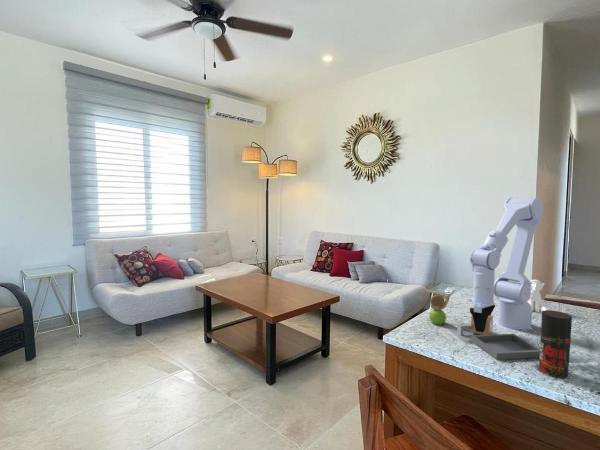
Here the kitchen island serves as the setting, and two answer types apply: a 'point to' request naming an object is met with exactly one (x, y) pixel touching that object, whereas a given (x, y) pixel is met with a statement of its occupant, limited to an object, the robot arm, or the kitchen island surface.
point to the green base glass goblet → (438, 309)
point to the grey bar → (463, 326)
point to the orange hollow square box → (488, 326)
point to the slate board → (466, 334)
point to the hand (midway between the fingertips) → (481, 328)
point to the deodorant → (555, 343)
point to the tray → (506, 346)
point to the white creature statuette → (536, 296)
